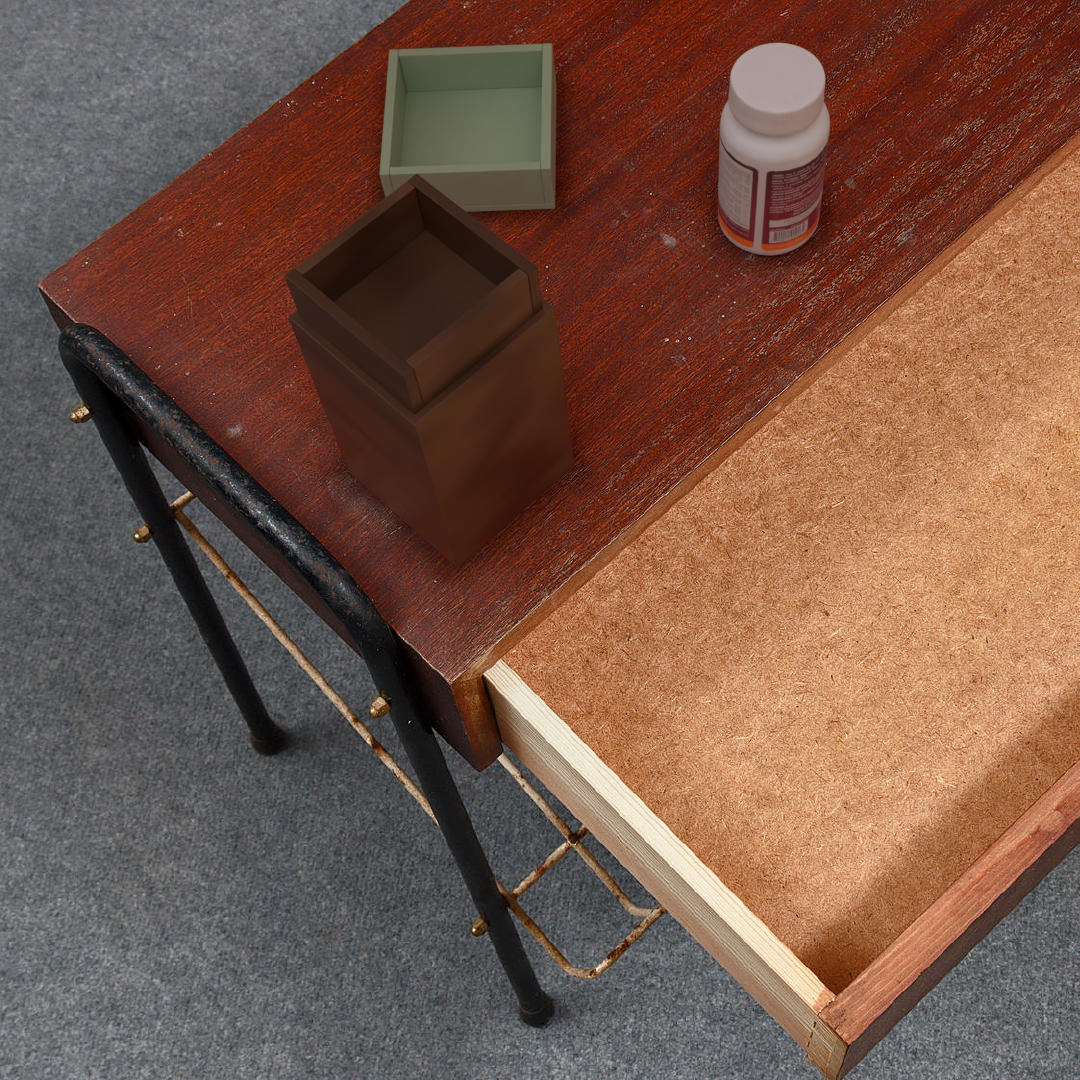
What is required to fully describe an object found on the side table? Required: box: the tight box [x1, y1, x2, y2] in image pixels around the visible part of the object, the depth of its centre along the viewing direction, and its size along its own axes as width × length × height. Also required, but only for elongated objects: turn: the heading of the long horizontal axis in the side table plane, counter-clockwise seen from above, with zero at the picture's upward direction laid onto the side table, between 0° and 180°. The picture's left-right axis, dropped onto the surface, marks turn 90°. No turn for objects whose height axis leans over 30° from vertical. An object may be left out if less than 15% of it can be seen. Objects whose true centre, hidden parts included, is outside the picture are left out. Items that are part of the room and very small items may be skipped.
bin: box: [378, 42, 558, 213], centre depth 90 cm, size 10×10×4 cm
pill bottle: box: [717, 42, 831, 256], centre depth 83 cm, size 6×6×11 cm
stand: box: [284, 174, 575, 569], centre depth 74 cm, size 9×9×17 cm
